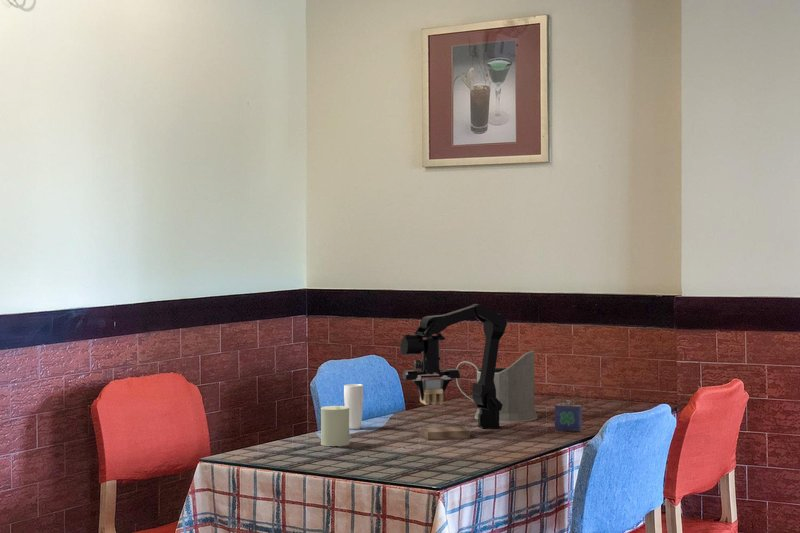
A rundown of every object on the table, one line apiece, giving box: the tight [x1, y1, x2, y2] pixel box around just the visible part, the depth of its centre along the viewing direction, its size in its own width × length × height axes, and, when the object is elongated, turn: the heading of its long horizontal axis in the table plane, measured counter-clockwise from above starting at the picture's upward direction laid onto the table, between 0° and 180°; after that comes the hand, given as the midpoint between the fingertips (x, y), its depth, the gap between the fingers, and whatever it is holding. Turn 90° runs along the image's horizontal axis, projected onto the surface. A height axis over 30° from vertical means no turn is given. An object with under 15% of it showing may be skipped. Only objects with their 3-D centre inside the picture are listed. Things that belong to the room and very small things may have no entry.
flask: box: [554, 399, 583, 433], centre depth 334 cm, size 9×3×11 cm, turn 68°
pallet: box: [419, 388, 444, 406], centre depth 334 cm, size 6×8×5 cm
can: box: [320, 405, 351, 447], centre depth 313 cm, size 9×9×12 cm
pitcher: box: [455, 350, 538, 423], centre depth 370 cm, size 23×32×25 cm
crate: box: [421, 377, 440, 389], centre depth 334 cm, size 5×5×3 cm
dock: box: [420, 425, 471, 441], centre depth 325 cm, size 14×9×2 cm, turn 103°
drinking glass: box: [343, 383, 364, 430], centre depth 344 cm, size 7×7×15 cm
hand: (431, 400), depth 334 cm, fingers closed on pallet, 6 cm apart
